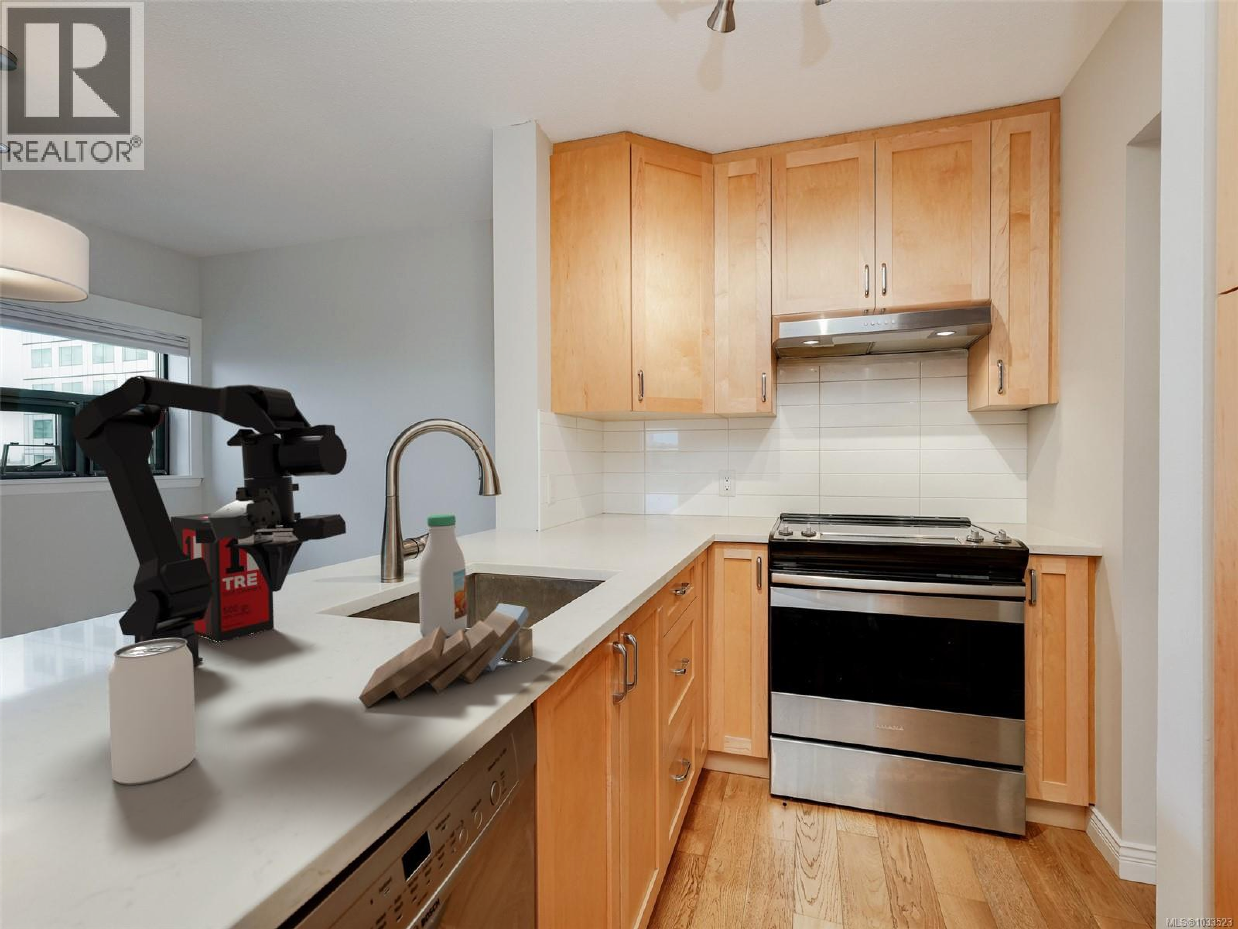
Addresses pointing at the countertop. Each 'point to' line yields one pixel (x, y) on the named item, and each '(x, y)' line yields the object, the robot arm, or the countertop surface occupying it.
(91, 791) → the countertop surface
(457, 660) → the domino
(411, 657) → the domino
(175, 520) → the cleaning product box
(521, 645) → the block
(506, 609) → the domino
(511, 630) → the domino
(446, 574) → the milk bottle
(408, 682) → the domino
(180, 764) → the can
